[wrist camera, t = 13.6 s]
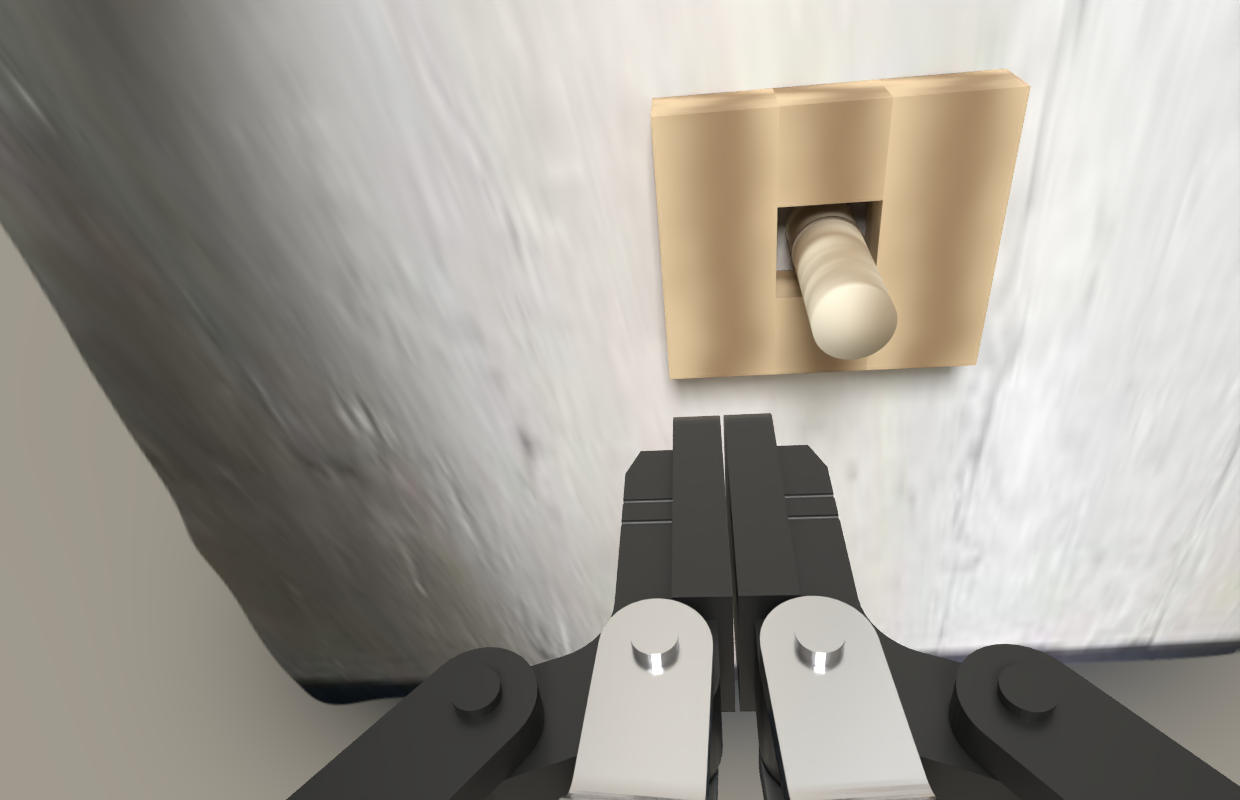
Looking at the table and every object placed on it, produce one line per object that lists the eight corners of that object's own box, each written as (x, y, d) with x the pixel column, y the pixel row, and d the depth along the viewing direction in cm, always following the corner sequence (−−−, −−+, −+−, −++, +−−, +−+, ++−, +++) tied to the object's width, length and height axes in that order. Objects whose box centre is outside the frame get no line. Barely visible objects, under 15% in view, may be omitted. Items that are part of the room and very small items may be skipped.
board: (670, 349, 45) (669, 379, 43) (652, 98, 37) (650, 116, 35) (959, 335, 44) (976, 364, 41) (1006, 69, 36) (1030, 86, 33)
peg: (783, 259, 42) (809, 362, 34) (785, 196, 40) (813, 289, 32) (851, 255, 41) (894, 358, 33) (856, 190, 39) (903, 284, 31)
